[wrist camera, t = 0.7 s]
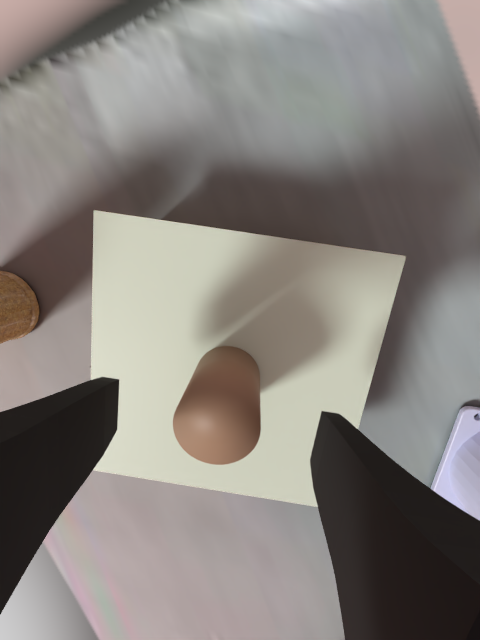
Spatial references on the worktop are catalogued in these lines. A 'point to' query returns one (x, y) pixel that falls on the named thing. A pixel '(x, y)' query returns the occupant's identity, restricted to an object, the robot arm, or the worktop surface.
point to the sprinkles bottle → (16, 307)
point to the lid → (231, 349)
